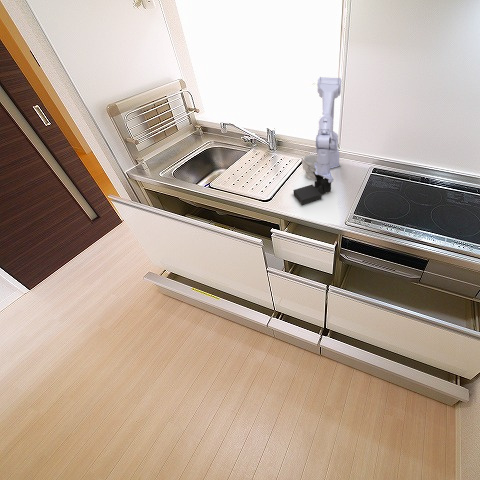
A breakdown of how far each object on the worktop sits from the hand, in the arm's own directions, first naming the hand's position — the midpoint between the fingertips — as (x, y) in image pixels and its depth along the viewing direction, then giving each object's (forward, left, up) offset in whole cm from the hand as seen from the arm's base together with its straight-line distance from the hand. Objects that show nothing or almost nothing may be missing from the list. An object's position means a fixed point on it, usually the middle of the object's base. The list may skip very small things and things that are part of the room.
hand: (322, 187), depth 123 cm
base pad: (+8, 0, -3) cm, 9 cm away
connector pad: (0, 0, -1) cm, 1 cm away
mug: (-2, -16, -3) cm, 17 cm away
